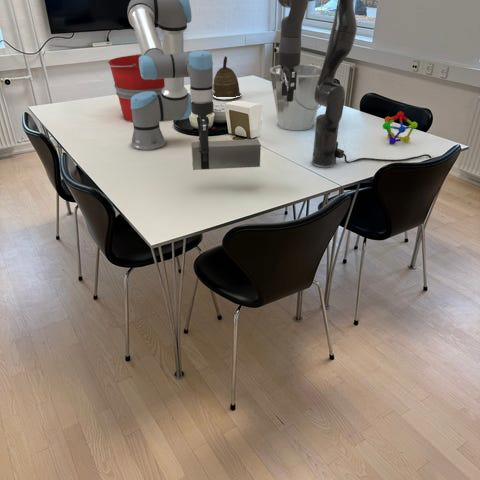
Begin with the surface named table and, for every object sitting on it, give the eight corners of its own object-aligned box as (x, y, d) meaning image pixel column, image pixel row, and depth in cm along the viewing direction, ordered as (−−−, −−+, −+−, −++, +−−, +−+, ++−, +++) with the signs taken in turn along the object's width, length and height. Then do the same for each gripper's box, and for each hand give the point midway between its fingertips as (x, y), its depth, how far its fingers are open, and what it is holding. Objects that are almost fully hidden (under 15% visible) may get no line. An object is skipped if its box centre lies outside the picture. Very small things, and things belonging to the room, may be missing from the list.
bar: (193, 170, 159) (192, 147, 154) (192, 164, 164) (191, 141, 159) (259, 166, 162) (260, 144, 157) (257, 160, 167) (257, 139, 162)
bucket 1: (122, 106, 262) (115, 52, 246) (181, 107, 261) (178, 52, 245) (105, 124, 232) (96, 64, 216) (172, 125, 231) (167, 64, 216)
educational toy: (377, 146, 209) (379, 114, 202) (384, 138, 219) (386, 107, 211) (411, 149, 202) (415, 116, 195) (417, 141, 212) (420, 109, 204)
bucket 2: (296, 138, 215) (301, 78, 201) (255, 124, 234) (256, 68, 219) (335, 125, 232) (342, 70, 217) (294, 113, 251) (297, 61, 236)
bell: (227, 105, 294) (202, 96, 282) (238, 66, 289) (213, 55, 277) (243, 108, 280) (217, 98, 268) (255, 66, 275) (229, 55, 263)
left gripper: (215, 108, 142) (217, 175, 154) (210, 93, 157) (212, 155, 170) (192, 109, 141) (195, 176, 153) (189, 94, 156) (192, 156, 169)
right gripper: (305, 53, 147) (302, 103, 155) (295, 47, 159) (292, 93, 167) (283, 54, 146) (281, 103, 154) (274, 47, 158) (272, 93, 166)
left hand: (204, 165), depth 162 cm, fingers closed on bar, 6 cm apart
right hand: (286, 98), depth 161 cm, fingers open, 8 cm apart
